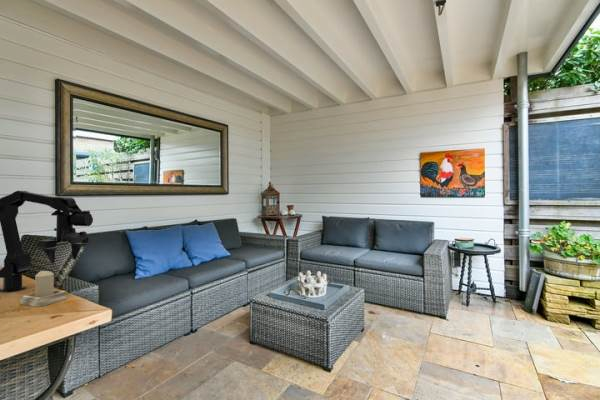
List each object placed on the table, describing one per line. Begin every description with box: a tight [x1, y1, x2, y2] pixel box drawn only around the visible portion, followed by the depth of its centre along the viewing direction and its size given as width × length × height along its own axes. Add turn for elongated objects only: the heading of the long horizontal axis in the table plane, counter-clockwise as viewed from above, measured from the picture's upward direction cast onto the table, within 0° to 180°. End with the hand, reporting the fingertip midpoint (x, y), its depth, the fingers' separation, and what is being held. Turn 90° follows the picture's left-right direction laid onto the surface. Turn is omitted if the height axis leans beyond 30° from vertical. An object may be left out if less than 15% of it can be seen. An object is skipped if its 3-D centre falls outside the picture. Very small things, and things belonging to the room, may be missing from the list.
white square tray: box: [20, 289, 68, 308], centre depth 118 cm, size 10×10×3 cm
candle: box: [34, 270, 55, 298], centre depth 118 cm, size 6×6×10 cm
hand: (64, 261), depth 132 cm, fingers open, 9 cm apart
